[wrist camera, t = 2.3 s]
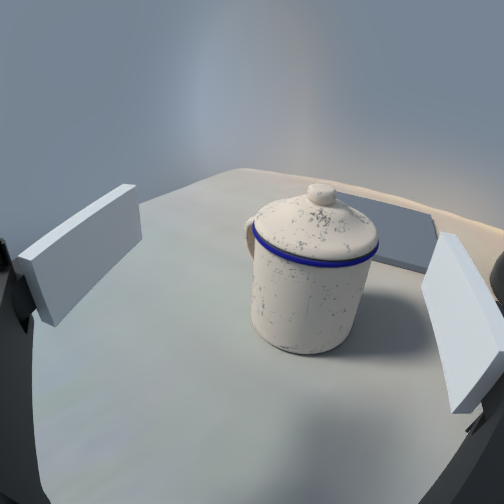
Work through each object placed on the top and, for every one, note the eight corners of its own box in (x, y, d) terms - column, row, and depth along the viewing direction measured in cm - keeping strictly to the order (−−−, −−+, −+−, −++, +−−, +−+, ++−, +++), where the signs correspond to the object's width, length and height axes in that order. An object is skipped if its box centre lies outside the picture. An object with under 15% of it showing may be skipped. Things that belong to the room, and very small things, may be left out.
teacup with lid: (372, 321, 27) (409, 197, 21) (304, 378, 21) (337, 231, 15) (279, 262, 34) (289, 153, 28) (207, 295, 29) (202, 169, 23)
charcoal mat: (429, 219, 47) (430, 214, 46) (441, 278, 33) (443, 272, 32) (315, 191, 53) (315, 187, 53) (280, 237, 39) (281, 231, 39)
